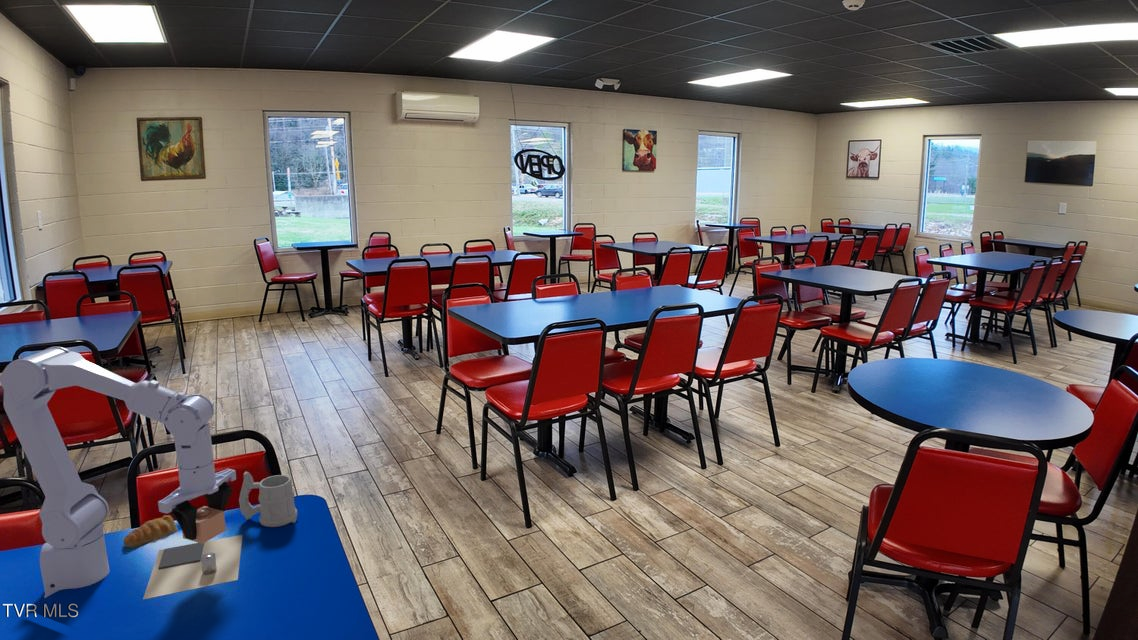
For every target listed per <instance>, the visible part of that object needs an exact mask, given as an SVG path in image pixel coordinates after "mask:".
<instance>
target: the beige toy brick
mask: <svg viewBox="0 0 1138 640" xmlns="http://www.w3.org/2000/svg"><path fill="white" fill-rule="evenodd" d="M196 530H197V536H196V539H194V540H190V539H187V538H185V536H184V533H183V531H182V530H181V531H182V538H183V539H184V540H188V541H191V542H195V543H202V544H203V543H205V542H207V541H211V540H212V539H214V538H215V537H218V536H219V535H221V534H223V533H224V532H226V531H227V528H226V520H225V511H222V510H218V509H214V508H210V507H208V506H206V505H204V506H202V507H200V508H198V510H197V514H196Z"/></svg>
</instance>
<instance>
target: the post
mask: <svg viewBox="0 0 1138 640" xmlns="http://www.w3.org/2000/svg"><path fill="white" fill-rule="evenodd" d="M201 565H202V573H203V574H204V575H210V574H213V573H215V572H216V571H217V566H216V557H215V553H212V552H210V553H206V554H204V555H202V556H201Z"/></svg>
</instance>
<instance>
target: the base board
mask: <svg viewBox="0 0 1138 640" xmlns="http://www.w3.org/2000/svg"><path fill="white" fill-rule="evenodd" d="M242 543H243V534H240V535H234V536H229V537H222V538H218V539H217V538H216V539H213V540H212V539H210V540H208V541H207V542H205V543H204V546H203V551H202V555H204V554H206V553H210V552H212V553H215V557H216V566H217V571H216V572H215V573H213V574H210V575H204V574H203V573H202V565H201V561H198V562H193V563H188V564H183V565H178V566H172V567H167V568H162V569H158V567H159V564H160V561H161V558H162V554H163V551H164V549H165V548H164V549H159V550H158V552H157V554H156V555H157V556H156V558H155V561H154V565H153V568H152V571H151V574H150V578H149V579H148V583H147V587H146V589H145V592H144V594H143V598H142V600H147V599H153V598H157V597H162V596H167V595H172V594H177V593H182V592H185V591H190V590H191V591H192V590H195V589H201V588H206V587H210V586H215V585H221V584H225V583H229V582H235V581H239V572H240V571H239V570H240V563H241V562H240V561H241V553H242Z"/></svg>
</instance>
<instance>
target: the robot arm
mask: <svg viewBox="0 0 1138 640" xmlns="http://www.w3.org/2000/svg"><path fill="white" fill-rule="evenodd" d="M0 385H1V387H2V389H3V408H4V411H5V413H6V416H7V417H8V420H9V421H10V424H11V426H12V428H13V430H14V432H15V433H14V434H16V436H17V438H18V441H19V442H20V445H21V448H22V450H23V452H24V454H25V456H26V458H27V460H28V463H29V464H30V466H31V469H32V471H33V473H34V475H35V477H36V479H37V482H38V483H39V485H40V488H41V491H42V492H43V494H44V497H45V498H44V501H43V503H42V505H41V509H40V510H39V513H38V514H39V515H38V516H39V518H40V521H41V524H42V526H41V535H42V537H43V539H44V541H45V543H43V545H42V547H41V550H40V554H39V566H40V567H39V568H40V572H41V578H42V584H43V588H44V589H43V590H44V595H43V597H44V599H46V598H48V597H50V596H51V595H53V594H54V593H56V592H59V591H62V590H67V589H68V590H69V589H79V588H85V587H88V586H91V585H93V584H96V583H99V582H100V581H102V580H103V579H104V578H105V577H107V576H108V575H109V574H110V565H109V564H110V563H109V559H108V552H107V546H106V541H105V540H106V539H105V534H104V527H105V523H104V521H105V519H107V517H108V516H109V513H110V508H109V504H108V502H107V500H105V498H103V496H102V495H100V494H99V493H98V491H97V489H96V488H95V486H94V485H93V484H89V483H85V482H82V480H81V478H80V475H79V474H78V471H77V469H76V466H75V465H74V462H73V461H72V458H71V456H70V453H69V451H68V449H67V447H66V445H65V443H64V440H63V438H62V436H61V432H60V431H59V429H58V427H57V425H56V423H55V420H54V418H53V415H52V413H51V411H50V409H49V407H48V403H49V401H51V398H52V397H53V395H54V394H55V392H56V391H57V390H60V389H63V388H69V387H74V386H75V387H81V388H83V389H87V390H90V391H94V392H96V393H100V394H102V395H106V396H109V397H111V398H115V399H118V400H120V401H121V400H122V401H124V403H125V406H126V408H127V410H128V411H131V412H133V413H136V414H138V415H141V416H144V417H146V418H149V419H152V420H153V421H157V422H160V423H162V424H164V425H165V428H166V429H167V431H168V432H169V433H170V434H171V435H172V437H173V441H174V447H175V455H176V462H177V469H178V478H179V479H178V480H179V486H178V488H176V489H174V491H172V492H171V493H170V494H169V495H167V496H166V497H164V498H162V499H161V500H158V501H157V505H158V512H160V513H162V514H165V515H166V514H168V515H169V513H170V515H171V517H172V518H173V519H174V520H175V521H176V522H177V523H178V525H179V527H180V530H181V531H183V533H184V536H185V538H187V539H186V540H188V539H190V540H189V541H191V540H194V539H196V536H197V530H196V514H197V510H198V509H199V507H198V506H195V505H192V503H191V502H190V501H191V500H193V499H196V498H198V497H202V496H205V500H206V503H207V507H210V508H214V509H218V510H222V511H224V512H225V511H226V507H227V504H228V501H229V499H230V496H231V494H232V493H233V486H232V485H231V484H228V482H229V481H230V482H234V481H236V480H237V471H236V470H235V469H232V468H226V469H224V470H220V471H218V472H215V471H216V470H215V461H214V453H213V451H214V450H213V443H212V442H213V441H212V436H211V435H212V434H211V427H210V426H211V425H210V423H209V421H211V419H212V418H213V416H214V413H215V411H214V410H215V409H214V405H213V404H212V402H211V401H210V400H209V399H208V398H207V397H205V396H203V395H202V394H199V393H192V394H189V395H187V394H186V393H184V392H182V391H179V392H177V391H175V390H172V389H171V388H166V387H164V386H162V385H160V381H157V380H155V379H152V380H141V381H139V382H134V381H131V380H130V379H127V378H126V377H123V376H121V375H119V374H116V373H115V372H112V371H110V370H109V369H106V368H103V367H101V366H100V365H97V364H95V363H93V362H90V361H89V360H86V359H85V357H83V356H82V355H81V353H79V352H77V351H76V352H75V351H72V350H71V351H70V350H69V349H68V348H66V347H62V346H51V347H47V348H45V349H44V350H42V351H39V352H37V353H34V354H31V355H29V356H27V357H23V358H19V359H15V360H13V361H10V362H9V364H7V365H6V366H5V368H4V370H3V371H2V372H1V374H0Z"/></svg>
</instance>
